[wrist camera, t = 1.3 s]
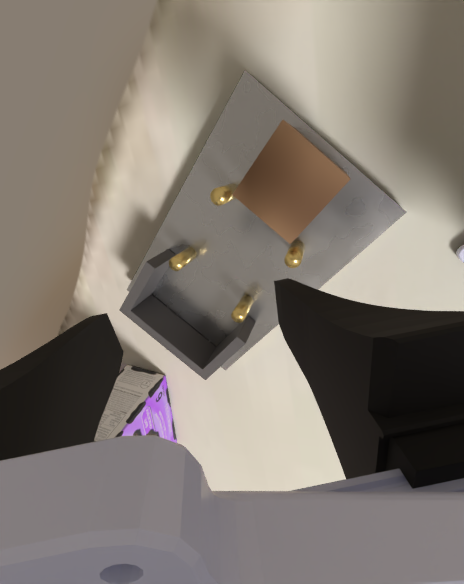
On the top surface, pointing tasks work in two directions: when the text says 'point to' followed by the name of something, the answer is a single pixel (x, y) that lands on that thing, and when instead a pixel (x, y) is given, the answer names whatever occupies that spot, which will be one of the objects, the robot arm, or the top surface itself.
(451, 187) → the top surface
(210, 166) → the base plate
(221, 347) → the housing
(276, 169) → the walnut block
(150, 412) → the candy box
